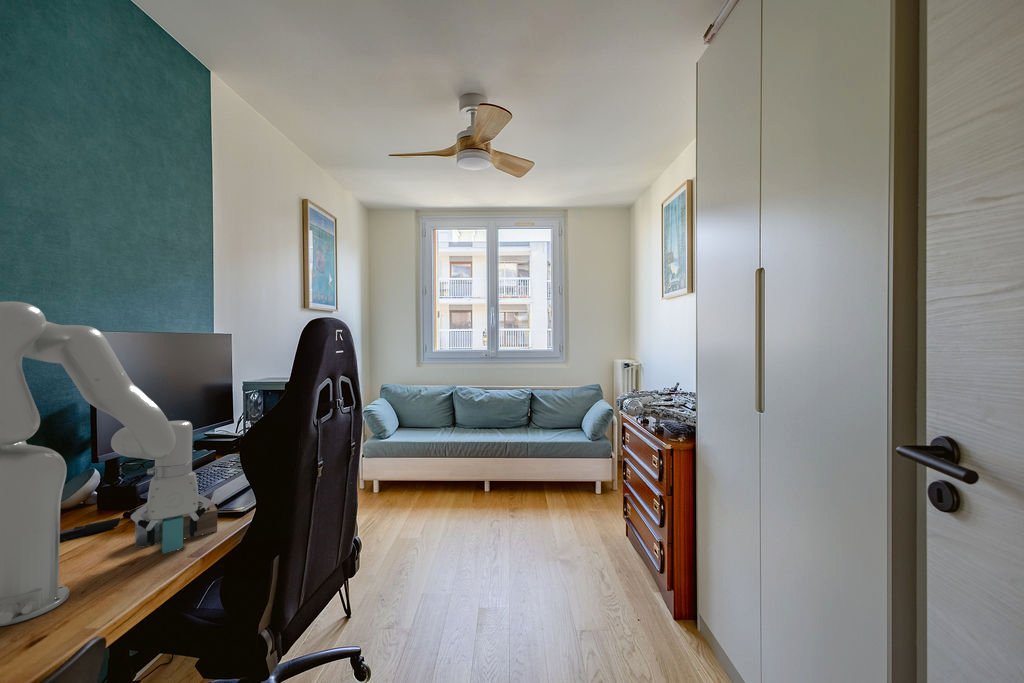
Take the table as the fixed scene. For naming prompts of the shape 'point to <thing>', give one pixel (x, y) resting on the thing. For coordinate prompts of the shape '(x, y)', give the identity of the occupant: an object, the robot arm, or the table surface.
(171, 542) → the square peg
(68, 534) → the electric trimmer
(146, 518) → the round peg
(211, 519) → the block
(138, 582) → the table surface
